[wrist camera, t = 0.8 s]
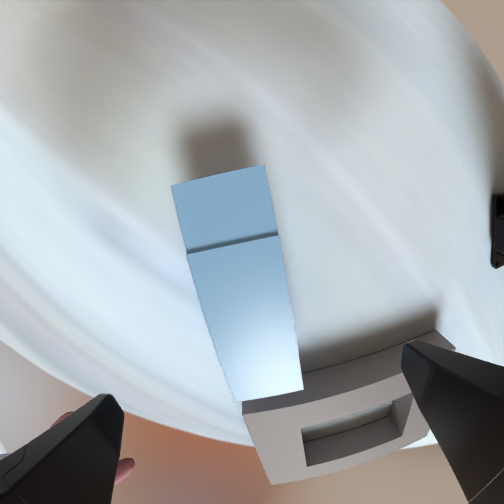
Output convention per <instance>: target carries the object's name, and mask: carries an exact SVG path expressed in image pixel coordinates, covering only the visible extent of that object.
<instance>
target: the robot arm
mask: <svg viewBox="0 0 504 504" xmlns="http://www.w3.org/2000/svg"><path fill="white" fill-rule="evenodd" d="M503 265H504V192H501V193H495V194H494V196H493V252H492V267H493V268H495V269H497V268H499V267H501V266H503ZM401 369H402V372H403V374H404V376H405V379H406V381H407V383H408V385H409V387H410V390H411V392H412V394H413V397H414V399H415V401H416V403H417V406H418V408H419V410H420V411H421V413H422V415H423V417H424V418H425V420H426V422H427V424H428V425H429V427H430V429H431V431H432V432H433V434H434V436H435V438H436V440H437V441H438V443H439V445H440V447H441V449H442V451H443V452H444V454H445V456H446V458H447V460H448V462H449V464H450V466H451V468H452V470H453V472H454V474H455V476H456V478H457V480H458V482H459V484H460V486H461V488H462V490H463V492H464V494H465V496H466V499H467V501H468V502H469V504H504V367H503V366H500V365H496V364H493V363H490V362H486V361H483V360H480V359H477V358H473V357H470V356H467V355H464V354H461V353H458V352H455V351H451V350H448V349H445V348H442V347H439V346H436V345H433V344H430V343H427V342H424V341H421V340H418V339H414V340H411V341H408V342H406V343H405V344H404V345H403V350H402V358H401ZM123 424H124V412H123V410H122V409H121V407H120V406H119V404H118V403H117V401H116V400H115V398H114V397H113V396H112V395H111V394H99V395H97V396H96V397H95V398H93V399H92V400H90V401H89V402H88V403H86V404H85V405H83V406H82V407H80V408H79V409H78V410H76V411H75V412H73V413H72V414H70V415H69V416H67V417H66V418H65V419H63V420H62V421H60V422H59V423H57V424H56V425H54V426H53V427H51V428H50V429H48V430H47V431H45V432H44V433H43V434H41V435H40V436H38V437H36V438H35V439H34V440H32V441H30V442H29V443H28V444H26V445H24V446H23V447H21V448H20V449H18V450H17V451H15V452H13V453H12V454H10V455H8V456H6V457H4V458H3V459H1V460H0V504H111V500H112V493H113V488H114V482H115V477H116V472H117V467H118V462H119V457H120V450H121V441H122V432H123Z"/></svg>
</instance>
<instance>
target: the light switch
mask: <svg viewBox="0 0 504 504" xmlns="http://www.w3.org/2000/svg"><path fill="white" fill-rule="evenodd" d="M415 339H418V340H421V341H424V342H427V343H430V344H433V345H436V346H439V347H442V348H445V349H448V350H451V351H455V349H456V347H454V346H453V345H452V344H451V343H450V342H449V341H448V340H447V339H446V338H444V337H443V336H442V335H441V334H440V333H439V332H438V331H436V330H434V331H432V332H429V333H427V334H425V335H422V336H420V337H417V338H415ZM412 340H414V339H412ZM410 341H411V340H410ZM407 342H408V341H407ZM405 343H406V342H405ZM405 343H402V344H399V345H397V346H394V347H391V348H388V349H386V350H383V351H380V352H377V353H374V354H371V355H368V356H365V357H362V358H359V359H355V360H352V361H349V362H345V363H342V364H338V365H335V366H331V367H327V368H324V369H320V370H316V371H312V372H308V373H303V374H302V381H303V388H304V390H299V391H295V392H290V393H286V394H281V395H275V396H270V397H264V398H259V399H252V400H246V401H242V415H243V418H244V420H245V423H246V426H247V428H248V431H249V433H250V436H251V438H252V441H253V443H254V446H255V448H256V450H257V453H258V455H259V458H260V460H261V462H262V465H263V467H264V469H265V472H266V474H267V476H268V478H269V480H270V483H271V485H274V484H280V483H286V482H292V481H298V480H303V479H307V478H312V477H316V476H320V475H324V474H329V473H332V472H336V471H339V470H343V469H346V468H349V467H353V466H356V465H359V464H362V463H365V462H367V461H370V460H373V459H376V458H378V457H381V456H384V455H386V454H389V453H391V452H394V451H396V450H398V449H401V448H403V447H405V446H407V445H409V444H412V443H414V442H416V441H418V440H420V439H422V438H424V437H426V436H427V434H428V431H429V429H430V427H429V425H428V424H427V422H426V420H425V418H424V417H423V415H422V413H421V411H420V410H419V408H418V406H417V403H416V401H415V399H414V397H413V394H412V392H411V390H410V387H409V385H408V383H407V381H406V379H405V376H404V374H403V372H402V369H401V358H402V350H403V345H404V344H405ZM393 400H394V401H393ZM390 401H393V406H392V411H391V416H388V417H386V418H383V419H380V420H378V421H375V422H372V423H369V424H367V425H364V426H361V427H358V428H355V429H352V430H348V431H345V432H342V433H338V434H335V435H331V436H327V437H324V438H320V439H316V440H311V441H307V442H303V440H302V434H301V428H306V427H310V426H314V425H318V424H322V423H326V422H330V421H334V420H337V419H341V418H344V417H347V416H350V415H354V414H357V413H360V412H363V411H366V410H369V409H371V408H374V407H377V406H380V405H382V404H385V403H388V402H390Z"/></svg>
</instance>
